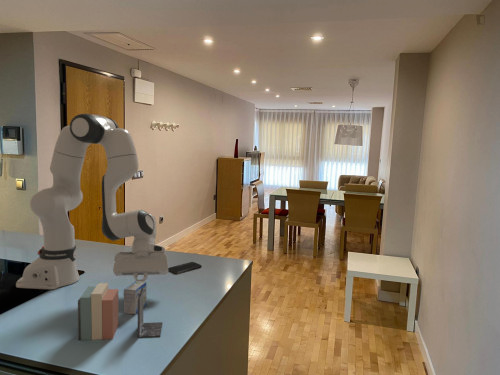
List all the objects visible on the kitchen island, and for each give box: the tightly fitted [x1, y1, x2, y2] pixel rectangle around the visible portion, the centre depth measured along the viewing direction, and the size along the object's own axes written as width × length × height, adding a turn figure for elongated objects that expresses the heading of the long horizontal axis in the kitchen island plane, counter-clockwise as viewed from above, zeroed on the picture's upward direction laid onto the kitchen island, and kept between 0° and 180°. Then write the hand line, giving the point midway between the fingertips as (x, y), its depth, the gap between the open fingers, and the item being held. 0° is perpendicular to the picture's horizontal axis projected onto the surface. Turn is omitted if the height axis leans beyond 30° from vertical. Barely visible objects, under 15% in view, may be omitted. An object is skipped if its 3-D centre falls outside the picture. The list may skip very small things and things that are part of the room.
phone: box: [168, 261, 203, 275], centre depth 166 cm, size 8×1×15 cm
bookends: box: [77, 288, 163, 341], centre depth 109 cm, size 23×8×12 cm, turn 99°
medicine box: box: [123, 281, 147, 315], centre depth 124 cm, size 8×4×9 cm, turn 168°
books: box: [79, 282, 119, 341], centre depth 108 cm, size 9×8×14 cm
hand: (139, 285), depth 132 cm, fingers closed
